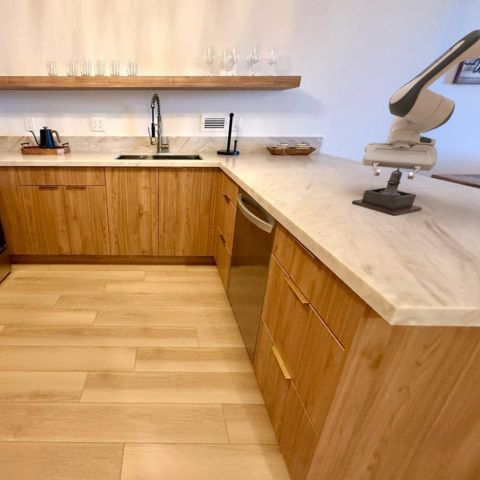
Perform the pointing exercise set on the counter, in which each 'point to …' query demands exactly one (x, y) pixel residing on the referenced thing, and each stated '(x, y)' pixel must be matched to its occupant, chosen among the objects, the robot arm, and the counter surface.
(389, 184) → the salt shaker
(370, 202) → the dark grey square tray
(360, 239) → the counter surface
